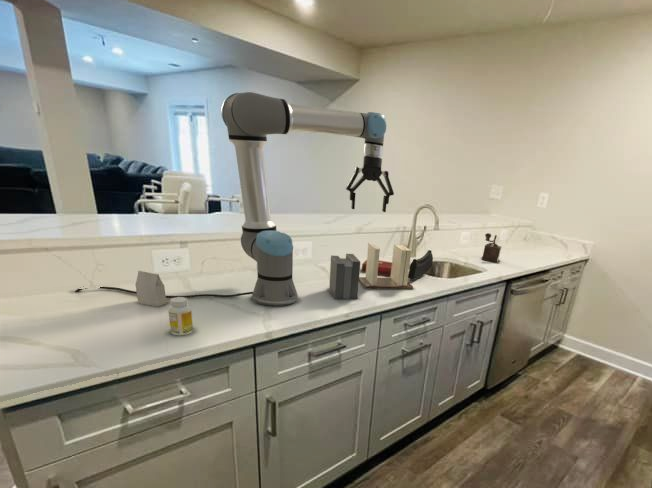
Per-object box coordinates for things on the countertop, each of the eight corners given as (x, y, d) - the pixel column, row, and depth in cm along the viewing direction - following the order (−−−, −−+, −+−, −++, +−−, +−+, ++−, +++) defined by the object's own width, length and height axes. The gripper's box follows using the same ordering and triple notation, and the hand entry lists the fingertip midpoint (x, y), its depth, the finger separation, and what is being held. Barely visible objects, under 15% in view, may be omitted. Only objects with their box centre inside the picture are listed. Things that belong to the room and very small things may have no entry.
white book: (371, 285, 165) (375, 248, 159) (365, 277, 174) (368, 242, 168) (376, 285, 166) (379, 249, 159) (369, 277, 175) (372, 243, 169)
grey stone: (157, 306, 119) (152, 275, 115) (138, 302, 120) (133, 271, 116) (166, 303, 123) (162, 273, 119) (147, 299, 123) (143, 269, 120)
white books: (397, 285, 170) (402, 250, 163) (390, 278, 179) (394, 244, 173) (406, 285, 171) (411, 250, 165) (398, 278, 180) (402, 244, 174)
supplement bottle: (169, 336, 103) (165, 303, 99) (172, 328, 108) (168, 296, 104) (192, 335, 105) (189, 302, 102) (194, 327, 110) (191, 295, 106)
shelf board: (365, 288, 163) (365, 286, 163) (358, 279, 174) (358, 277, 174) (412, 289, 172) (413, 286, 171) (403, 280, 183) (403, 278, 182)
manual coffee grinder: (482, 256, 262) (488, 230, 254) (498, 260, 259) (504, 233, 252) (479, 260, 248) (485, 233, 241) (496, 264, 245) (502, 236, 238)
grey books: (334, 299, 147) (337, 260, 141) (329, 288, 157) (331, 252, 151) (357, 298, 150) (360, 261, 144) (350, 289, 160) (353, 253, 154)
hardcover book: (403, 278, 186) (404, 269, 185) (361, 271, 187) (362, 263, 186) (406, 272, 197) (407, 264, 196) (366, 266, 198) (367, 258, 197)
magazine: (414, 264, 176) (434, 238, 198) (407, 263, 177) (428, 237, 199) (413, 295, 187) (432, 267, 209) (407, 294, 188) (426, 266, 210)
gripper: (344, 152, 147) (341, 208, 155) (404, 160, 156) (398, 214, 165) (340, 151, 153) (337, 206, 162) (399, 160, 163) (393, 211, 171)
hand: (368, 210), depth 163 cm, fingers open, 13 cm apart
